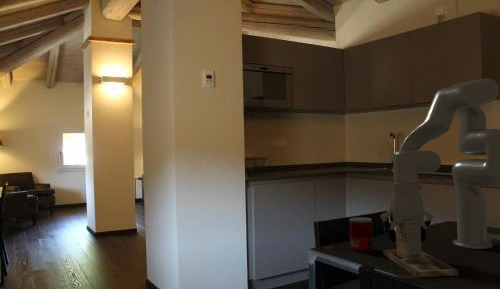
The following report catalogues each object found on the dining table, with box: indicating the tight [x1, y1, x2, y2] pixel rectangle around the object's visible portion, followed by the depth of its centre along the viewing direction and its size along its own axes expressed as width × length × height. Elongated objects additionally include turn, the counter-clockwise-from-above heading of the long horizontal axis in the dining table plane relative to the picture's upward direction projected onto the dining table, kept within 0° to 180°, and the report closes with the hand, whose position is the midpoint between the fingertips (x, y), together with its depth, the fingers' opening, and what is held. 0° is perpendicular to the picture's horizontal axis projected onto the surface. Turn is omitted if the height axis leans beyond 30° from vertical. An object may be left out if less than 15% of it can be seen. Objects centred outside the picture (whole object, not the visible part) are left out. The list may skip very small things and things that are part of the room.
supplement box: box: [395, 220, 422, 259], centre depth 129 cm, size 8×5×13 cm, turn 5°
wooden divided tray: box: [382, 248, 459, 278], centre depth 123 cm, size 12×25×2 cm, turn 2°
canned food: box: [349, 216, 374, 252], centre depth 143 cm, size 8×8×11 cm
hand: (407, 241), depth 129 cm, fingers open, 9 cm apart
